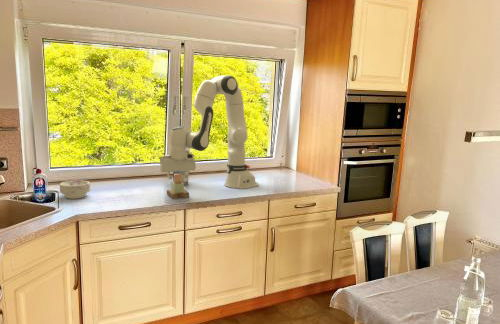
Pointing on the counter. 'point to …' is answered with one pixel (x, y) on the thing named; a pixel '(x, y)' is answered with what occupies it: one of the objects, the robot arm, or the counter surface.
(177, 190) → the green block
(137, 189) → the counter surface
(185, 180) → the beverage box
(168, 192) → the walnut plinth
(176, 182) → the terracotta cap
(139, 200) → the counter surface
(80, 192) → the paper bowls
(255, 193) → the counter surface
